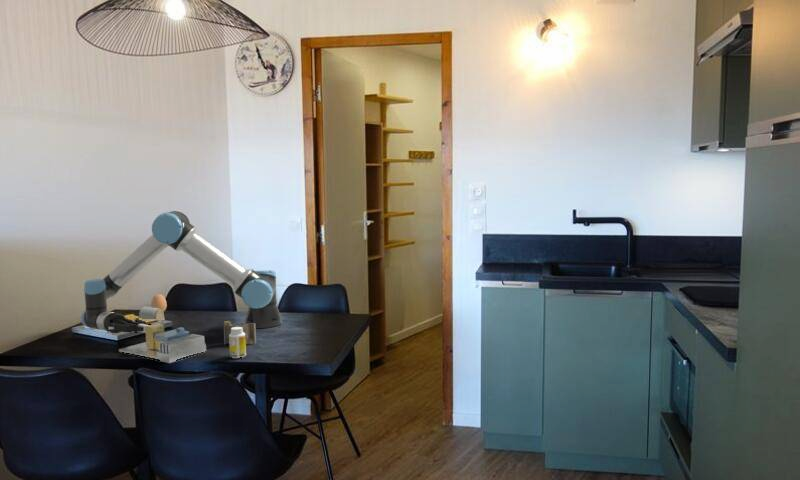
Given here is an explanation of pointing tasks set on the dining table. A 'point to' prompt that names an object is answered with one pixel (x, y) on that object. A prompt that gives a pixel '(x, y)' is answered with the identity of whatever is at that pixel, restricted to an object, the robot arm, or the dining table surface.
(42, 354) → the dining table surface
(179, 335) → the grey building model
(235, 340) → the supplement bottle
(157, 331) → the beige wooden block
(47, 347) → the dining table surface
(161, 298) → the egg
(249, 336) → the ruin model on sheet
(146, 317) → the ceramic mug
